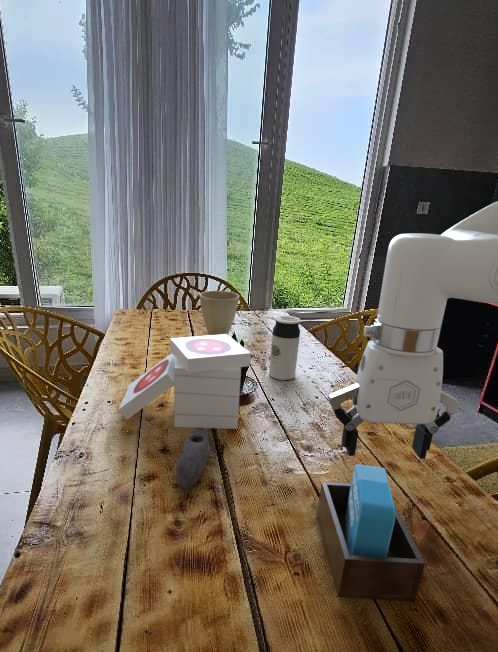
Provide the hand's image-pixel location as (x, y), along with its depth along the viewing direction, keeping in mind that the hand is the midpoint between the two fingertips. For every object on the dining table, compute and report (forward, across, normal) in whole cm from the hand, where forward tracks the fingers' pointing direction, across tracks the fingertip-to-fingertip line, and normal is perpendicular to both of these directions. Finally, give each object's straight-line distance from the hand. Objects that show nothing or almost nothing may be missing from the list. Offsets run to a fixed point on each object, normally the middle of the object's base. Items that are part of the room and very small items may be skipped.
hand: (383, 452), depth 62 cm
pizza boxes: (+18, -33, +44) cm, 58 cm away
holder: (+18, -1, 0) cm, 18 cm away
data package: (+18, -1, 0) cm, 18 cm away
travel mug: (+18, -6, +72) cm, 74 cm away
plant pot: (+18, -27, +110) cm, 115 cm away
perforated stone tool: (+18, -29, +18) cm, 38 cm away
